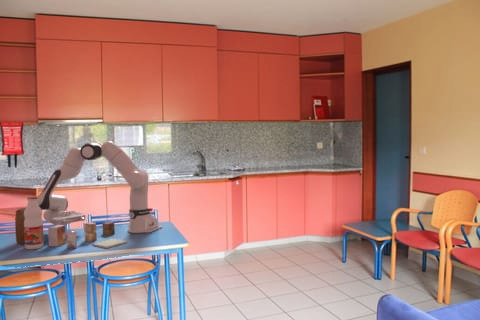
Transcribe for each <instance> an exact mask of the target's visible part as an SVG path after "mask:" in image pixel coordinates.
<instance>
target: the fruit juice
mask: <svg viewBox="0 0 480 320" xmlns="http://www.w3.org/2000/svg"><path fill="white" fill-rule="evenodd" d="M37 198H38V196H37V195H32V196H27V204H26V207H25V208H26V209H25V210H24V217H25V220H24V239H25V244H24V248H25V249H26V250H35V249H37V250H38V249H41V248H43V247H44V246H45V242H44V241H45V240H44V239H45V237H44V236H45V235H44V220H43V216H42V215H43V210H42V209H41V208H40V207H39V205H38V203H37Z"/></svg>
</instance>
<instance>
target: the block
mask: <svg viewBox="0 0 480 320" xmlns="http://www.w3.org/2000/svg"><path fill="white" fill-rule="evenodd" d="M25 209H26V207H20V208H18V209H17V210H16V211H15V218H14V219H15V220H14V222H15V223H14V226H15V241H16V242H15V243H16V244H17V245H23V246H24V245H25V239H24V220H25V217H24V210H25Z"/></svg>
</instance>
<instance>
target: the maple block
mask: <svg viewBox="0 0 480 320" xmlns="http://www.w3.org/2000/svg"><path fill="white" fill-rule="evenodd" d="M97 238H98V237H97V223H96V222H87V223H84V241H85V242H88V243H89V242H95V241H97Z"/></svg>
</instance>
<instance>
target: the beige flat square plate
mask: <svg viewBox="0 0 480 320" xmlns="http://www.w3.org/2000/svg"><path fill="white" fill-rule="evenodd" d="M127 243H128V240H123V239H118V238H109V239H107V240H102V241H99V242H95V243H92V246H93V247H97V248H102V249H107V250H108V249H111V248H114V247H117V246H122V245H125V244H127Z"/></svg>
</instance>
